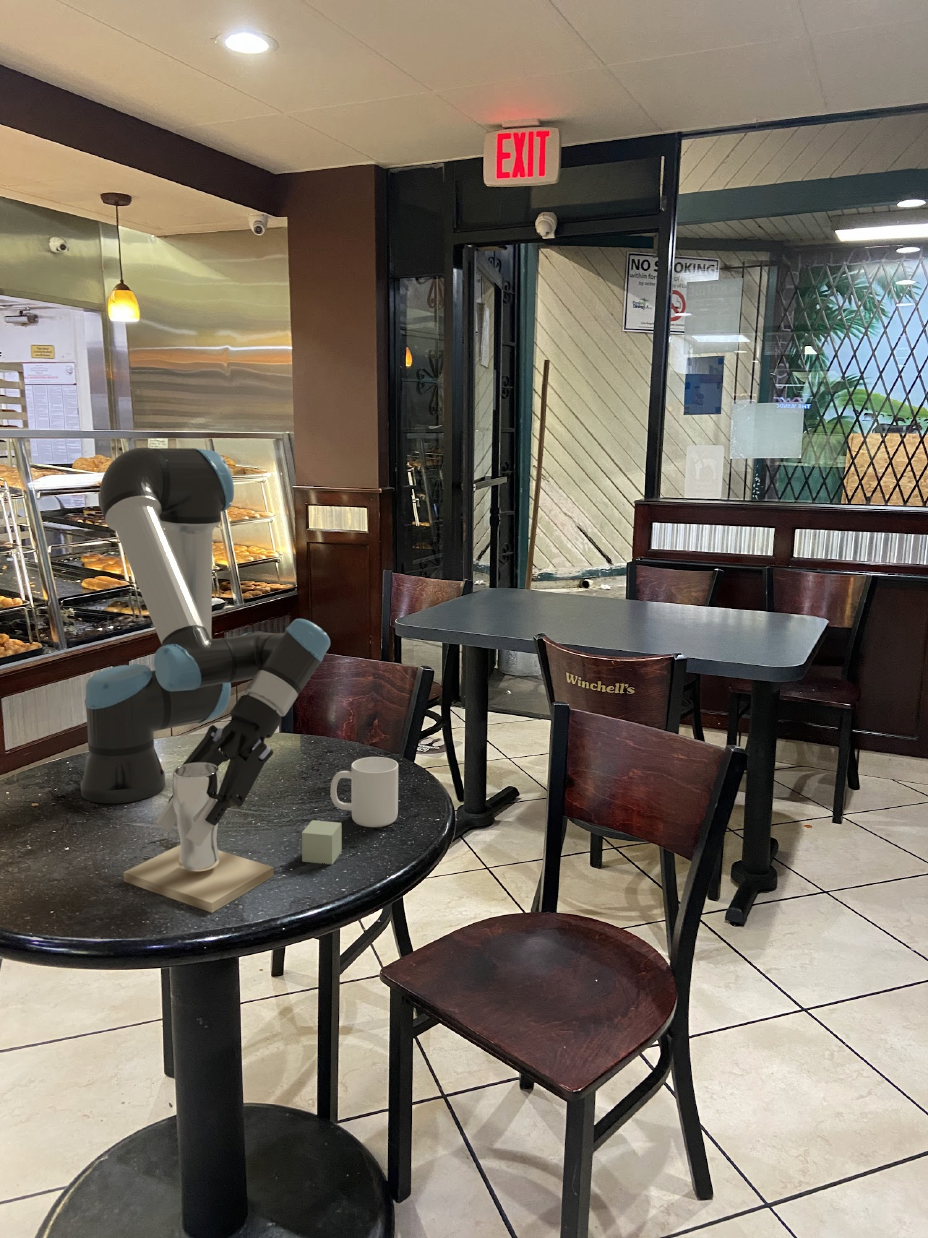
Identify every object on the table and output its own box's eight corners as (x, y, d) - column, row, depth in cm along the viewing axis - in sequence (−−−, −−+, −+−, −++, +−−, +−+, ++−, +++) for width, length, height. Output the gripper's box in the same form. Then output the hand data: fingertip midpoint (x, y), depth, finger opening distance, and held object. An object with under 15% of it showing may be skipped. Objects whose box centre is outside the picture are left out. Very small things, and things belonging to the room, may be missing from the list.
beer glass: (179, 877, 130) (176, 780, 128) (171, 858, 136) (167, 765, 134) (227, 868, 133) (224, 773, 131) (217, 849, 140) (214, 759, 137)
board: (124, 881, 134) (123, 872, 134) (188, 849, 145) (188, 841, 145) (212, 913, 125) (211, 903, 125) (273, 876, 137) (273, 867, 136)
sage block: (302, 862, 142) (301, 832, 141) (312, 848, 147) (312, 820, 146) (332, 865, 141) (332, 835, 140) (341, 851, 146) (341, 823, 145)
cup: (397, 827, 155) (397, 772, 154) (328, 828, 155) (328, 772, 153) (398, 809, 164) (398, 756, 162) (332, 809, 163) (332, 756, 161)
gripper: (318, 731, 137) (234, 865, 127) (238, 706, 149) (156, 827, 140) (291, 705, 132) (201, 842, 122) (210, 681, 144) (123, 805, 135)
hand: (177, 834), depth 131 cm, fingers open, 7 cm apart
